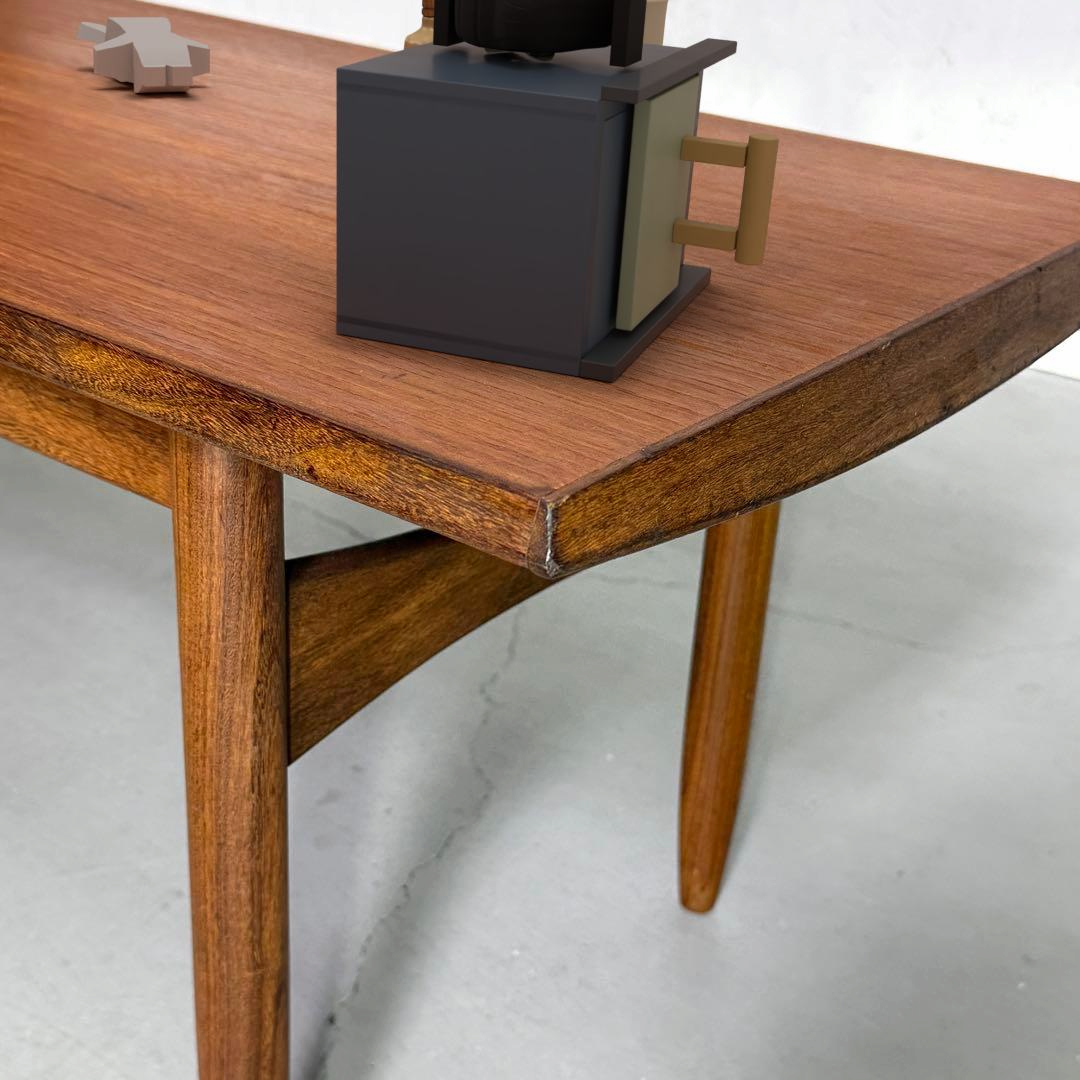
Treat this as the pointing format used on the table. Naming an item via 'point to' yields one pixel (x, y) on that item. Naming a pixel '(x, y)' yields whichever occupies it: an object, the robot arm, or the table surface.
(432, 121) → the cabinet
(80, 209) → the table surface
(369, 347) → the table surface
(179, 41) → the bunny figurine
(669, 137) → the door
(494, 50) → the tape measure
